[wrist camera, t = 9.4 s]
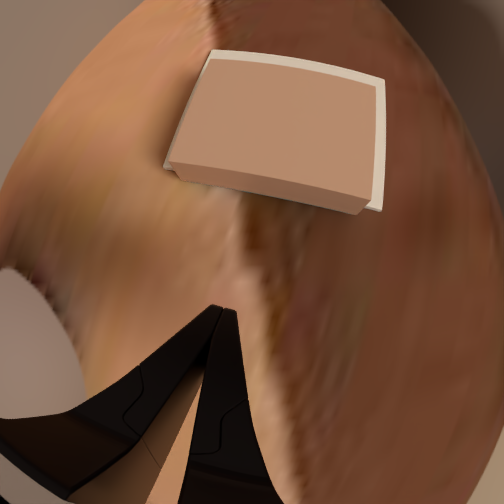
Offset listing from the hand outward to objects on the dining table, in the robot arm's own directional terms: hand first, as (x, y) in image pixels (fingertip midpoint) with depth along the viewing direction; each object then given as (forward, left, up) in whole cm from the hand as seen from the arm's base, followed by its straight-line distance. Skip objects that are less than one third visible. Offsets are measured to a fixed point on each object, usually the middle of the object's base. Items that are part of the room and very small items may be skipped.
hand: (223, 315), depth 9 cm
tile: (+3, +7, -7) cm, 10 cm away
